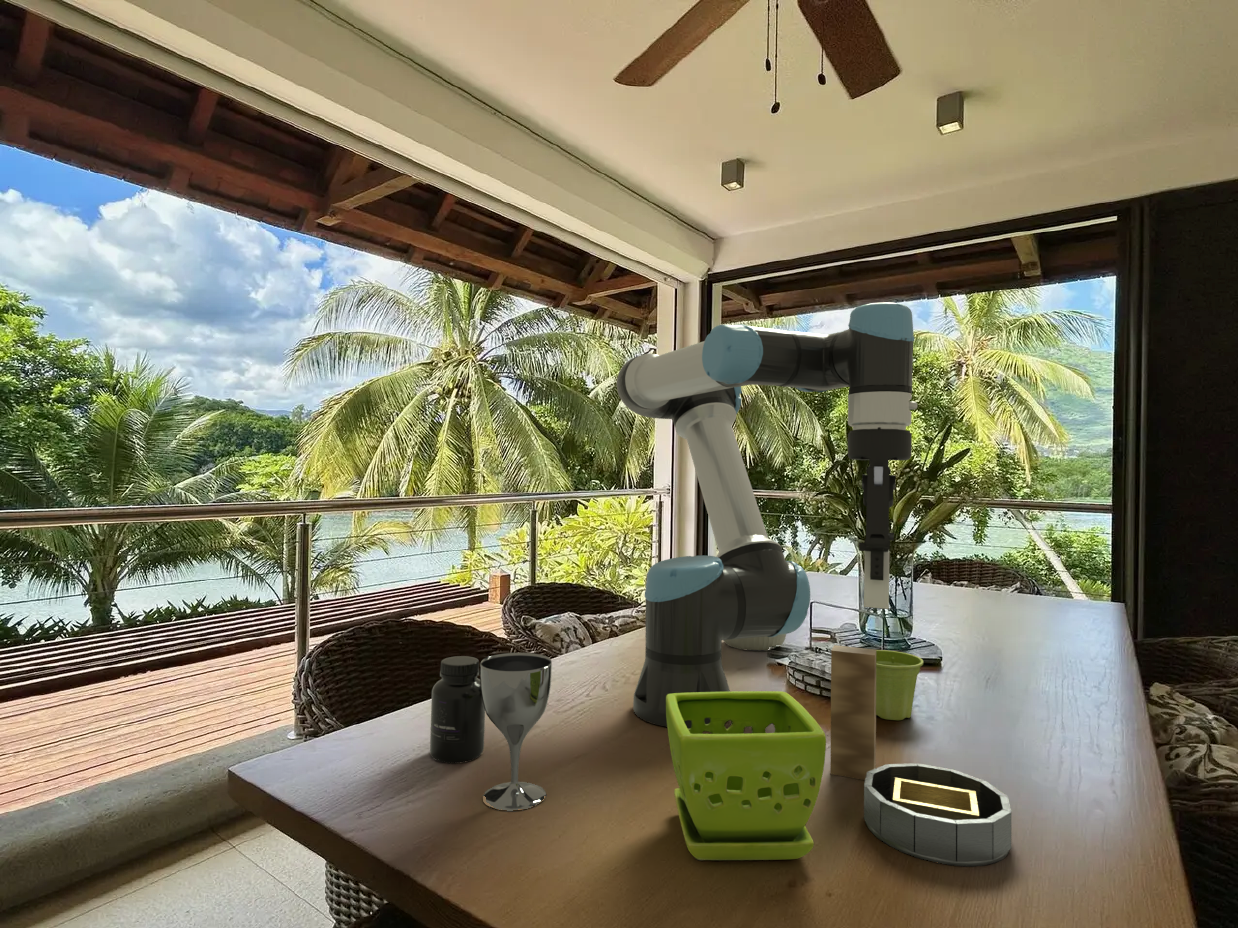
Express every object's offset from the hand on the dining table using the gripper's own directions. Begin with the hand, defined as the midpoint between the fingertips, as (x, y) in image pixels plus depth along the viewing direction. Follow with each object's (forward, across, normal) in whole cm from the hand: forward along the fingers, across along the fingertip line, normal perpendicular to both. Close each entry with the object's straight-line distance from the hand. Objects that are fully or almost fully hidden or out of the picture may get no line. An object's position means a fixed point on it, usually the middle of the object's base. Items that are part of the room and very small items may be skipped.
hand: (877, 597), depth 88 cm
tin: (+21, -15, -6) cm, 26 cm away
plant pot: (+22, +22, -2) cm, 31 cm away
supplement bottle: (+22, -17, +50) cm, 57 cm away
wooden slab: (+21, -3, +2) cm, 21 cm away
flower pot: (+21, -24, +12) cm, 34 cm away
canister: (+22, +57, +25) cm, 66 cm away
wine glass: (+21, -24, +38) cm, 50 cm away
